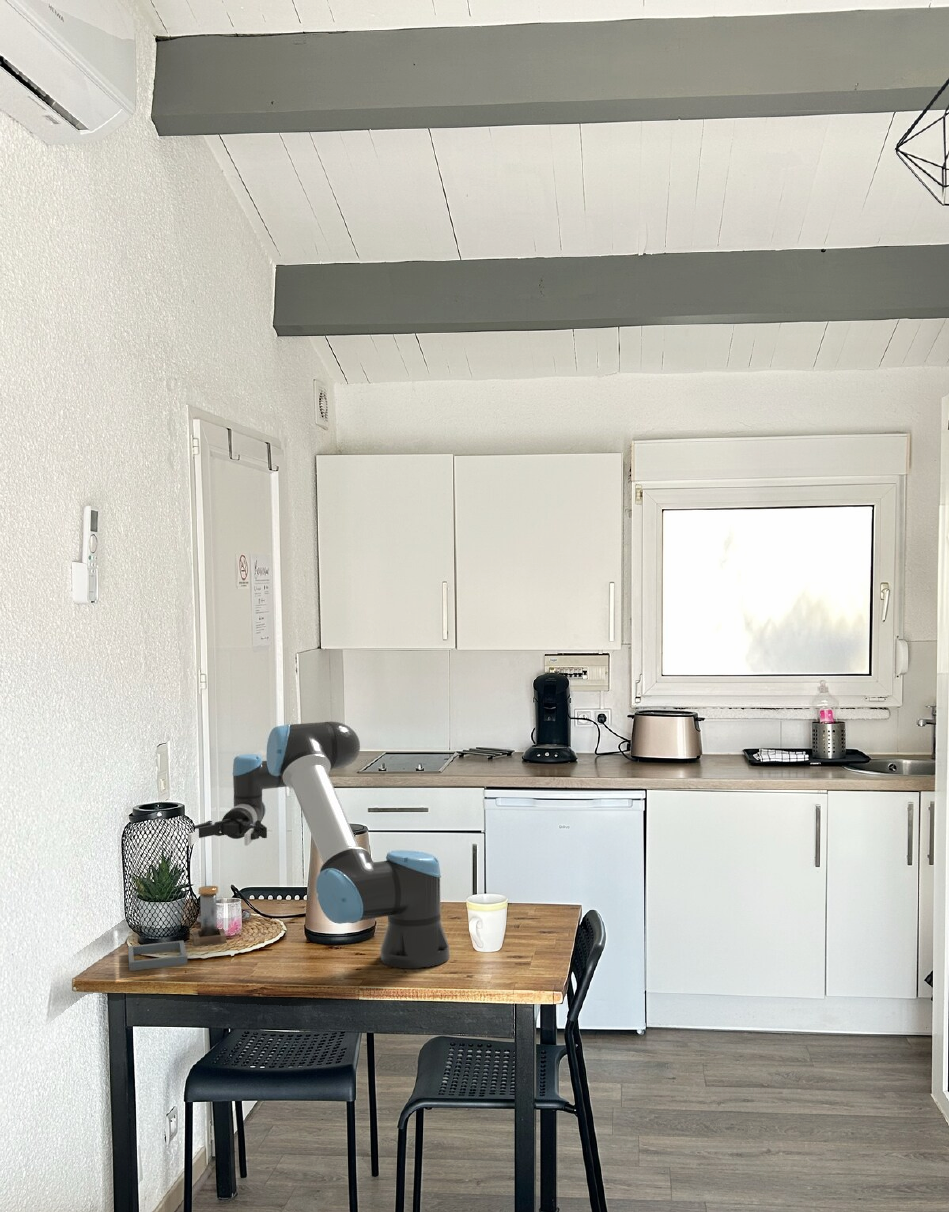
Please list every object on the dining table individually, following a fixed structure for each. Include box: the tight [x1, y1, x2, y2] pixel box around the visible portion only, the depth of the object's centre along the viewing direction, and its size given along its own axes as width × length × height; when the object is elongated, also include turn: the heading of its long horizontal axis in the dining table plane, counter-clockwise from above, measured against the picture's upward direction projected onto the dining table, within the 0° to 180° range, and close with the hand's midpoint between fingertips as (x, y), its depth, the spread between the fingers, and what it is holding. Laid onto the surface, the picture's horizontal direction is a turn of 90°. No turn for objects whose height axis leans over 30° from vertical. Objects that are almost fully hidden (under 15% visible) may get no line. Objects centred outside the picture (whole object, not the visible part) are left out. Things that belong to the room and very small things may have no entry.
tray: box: [127, 939, 188, 972], centre depth 249 cm, size 12×12×2 cm
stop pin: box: [197, 885, 219, 937], centre depth 262 cm, size 4×4×12 cm
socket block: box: [192, 927, 227, 947], centre depth 262 cm, size 7×7×2 cm
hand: (217, 840), depth 272 cm, fingers open, 13 cm apart
